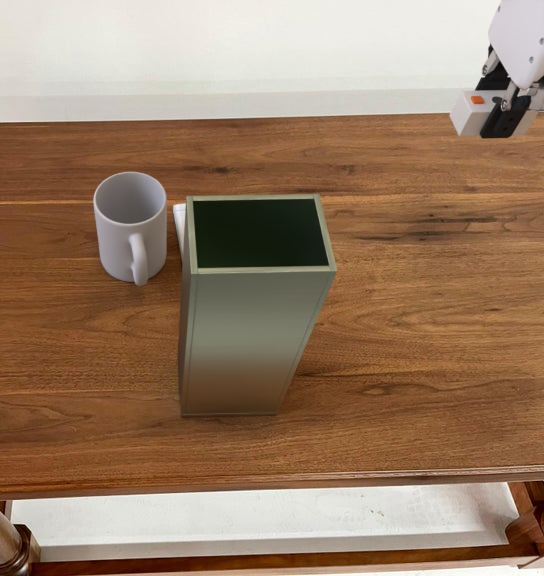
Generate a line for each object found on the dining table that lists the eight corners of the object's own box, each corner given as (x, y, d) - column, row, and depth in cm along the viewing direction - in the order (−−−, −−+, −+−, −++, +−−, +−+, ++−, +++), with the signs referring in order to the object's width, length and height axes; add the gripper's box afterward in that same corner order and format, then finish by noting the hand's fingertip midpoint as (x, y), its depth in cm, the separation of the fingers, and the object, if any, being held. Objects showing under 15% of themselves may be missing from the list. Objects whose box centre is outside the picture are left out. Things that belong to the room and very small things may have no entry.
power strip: (524, 135, 64) (541, 109, 61) (458, 136, 64) (472, 110, 61) (512, 114, 66) (528, 87, 63) (448, 115, 66) (461, 88, 63)
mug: (96, 235, 79) (88, 175, 70) (160, 226, 80) (160, 166, 71) (108, 311, 73) (101, 256, 64) (177, 300, 73) (180, 244, 64)
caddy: (268, 354, 69) (319, 193, 47) (276, 415, 65) (337, 270, 43) (177, 355, 69) (186, 195, 47) (180, 417, 65) (191, 273, 43)
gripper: (684, -2, 45) (552, 177, 60) (588, -101, 54) (495, 75, 69) (585, -1, 45) (477, 178, 60) (505, -100, 54) (430, 76, 69)
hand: (487, 121), depth 64 cm, fingers closed on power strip, 3 cm apart
